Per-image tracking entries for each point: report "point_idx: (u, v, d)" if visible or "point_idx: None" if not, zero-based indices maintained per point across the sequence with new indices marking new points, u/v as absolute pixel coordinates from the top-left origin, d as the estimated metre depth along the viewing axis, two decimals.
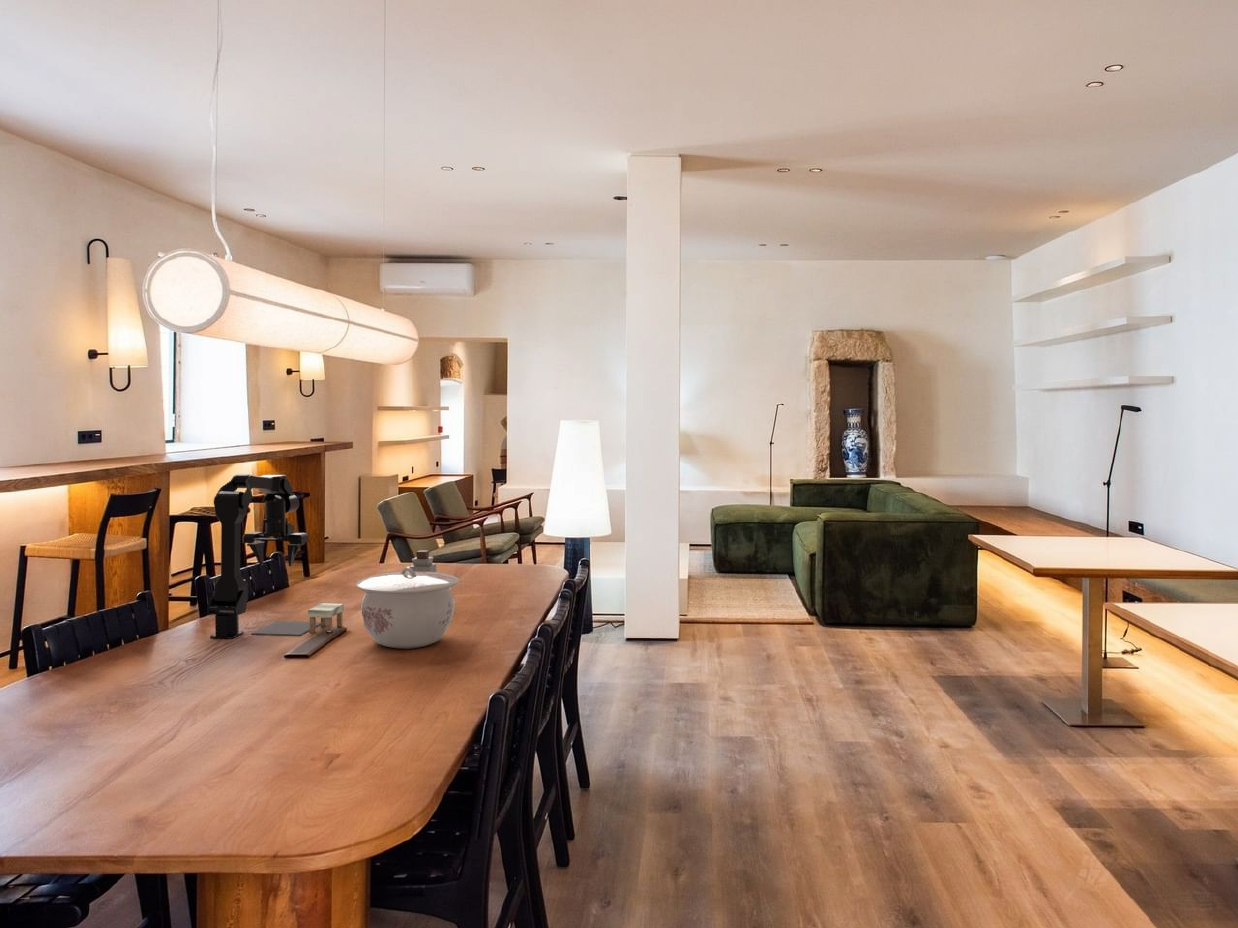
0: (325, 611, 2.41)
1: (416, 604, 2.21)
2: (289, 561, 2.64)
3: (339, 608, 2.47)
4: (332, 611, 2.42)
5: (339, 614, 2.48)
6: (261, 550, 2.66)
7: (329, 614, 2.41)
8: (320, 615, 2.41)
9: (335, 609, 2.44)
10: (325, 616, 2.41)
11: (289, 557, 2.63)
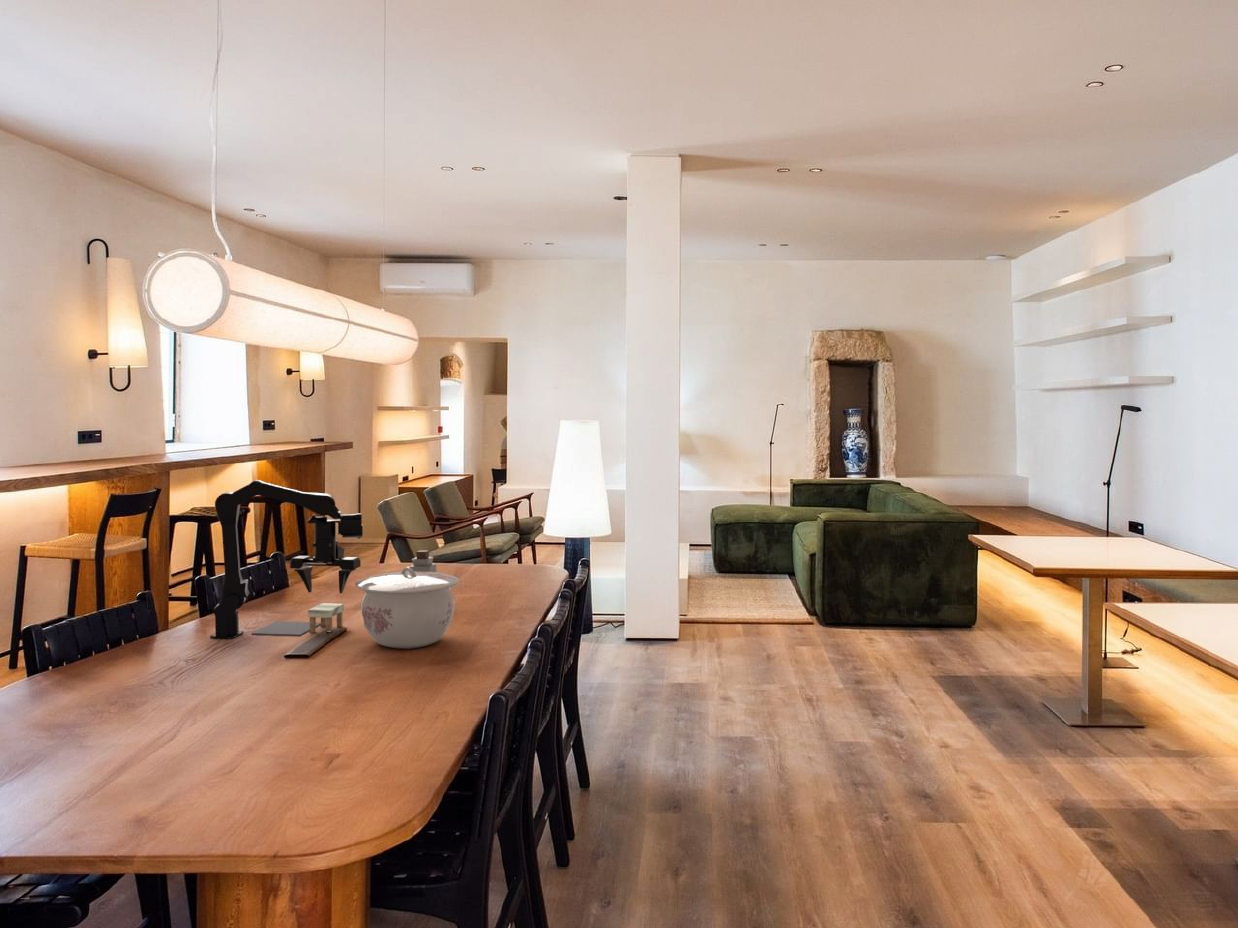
0: (325, 611, 2.41)
1: (416, 604, 2.21)
2: (340, 588, 2.44)
3: (339, 608, 2.47)
4: (332, 611, 2.42)
5: (339, 614, 2.48)
6: (309, 576, 2.46)
7: (329, 614, 2.41)
8: (320, 615, 2.41)
9: (335, 609, 2.44)
10: (325, 616, 2.41)
11: (340, 584, 2.43)
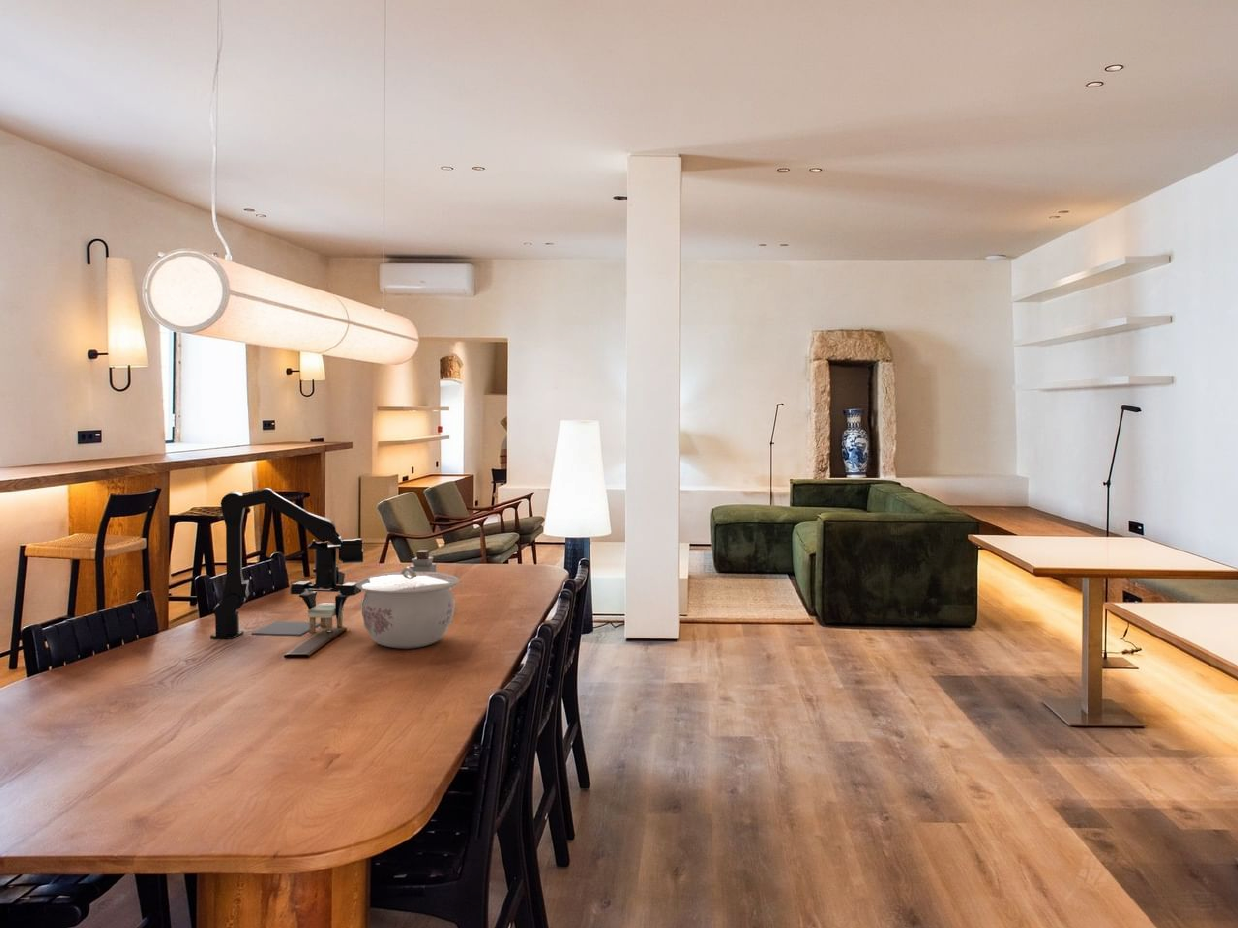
0: (325, 611, 2.41)
1: (416, 604, 2.21)
2: (336, 613, 2.44)
3: None
4: (332, 611, 2.42)
5: None
6: (314, 601, 2.46)
7: (329, 614, 2.41)
8: (320, 615, 2.41)
9: (335, 609, 2.44)
10: (325, 616, 2.41)
11: (337, 609, 2.44)
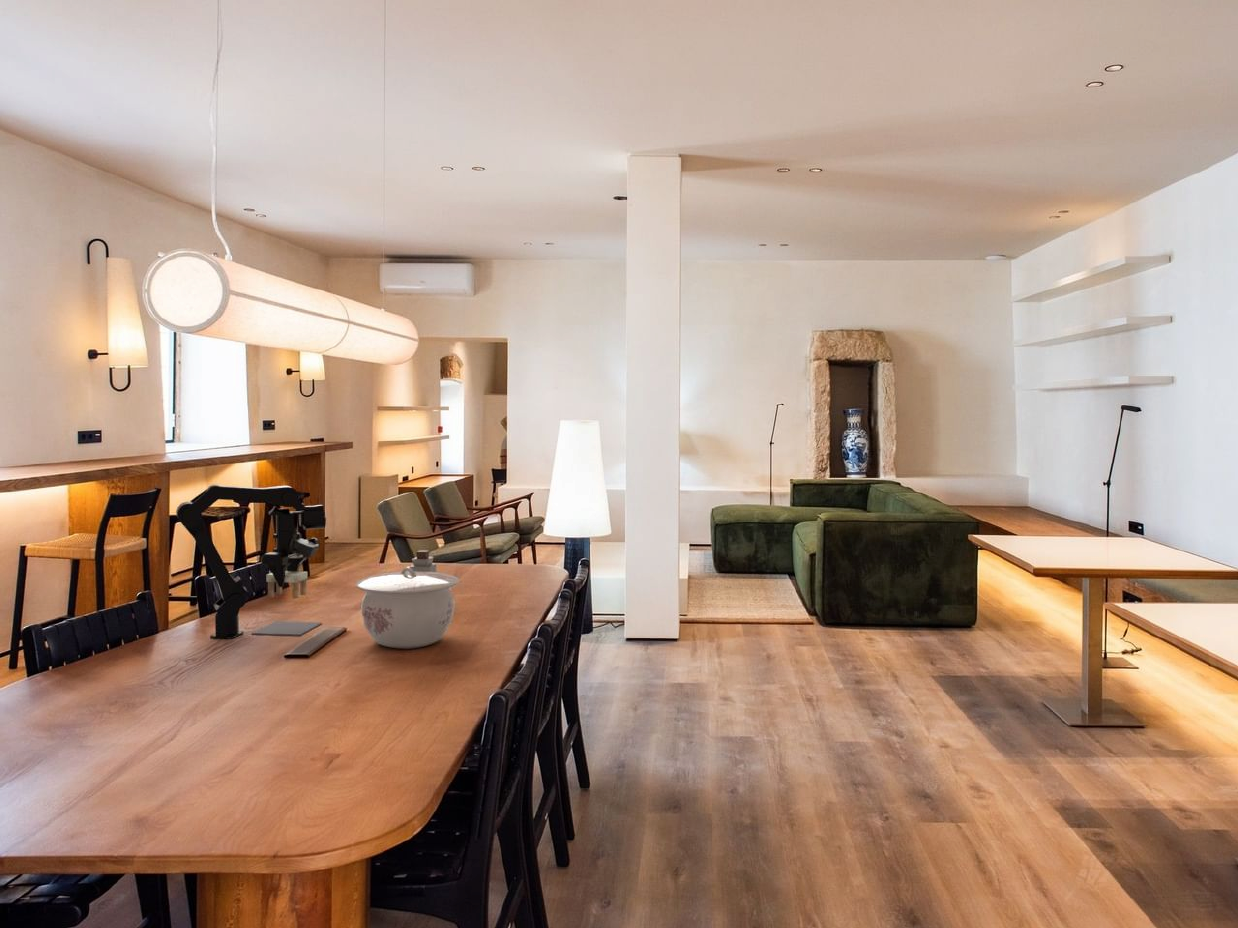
0: None
1: (416, 604, 2.21)
2: None
3: (287, 578, 2.41)
4: (270, 576, 2.42)
5: None
6: (294, 566, 2.48)
7: None
8: None
9: None
10: None
11: None
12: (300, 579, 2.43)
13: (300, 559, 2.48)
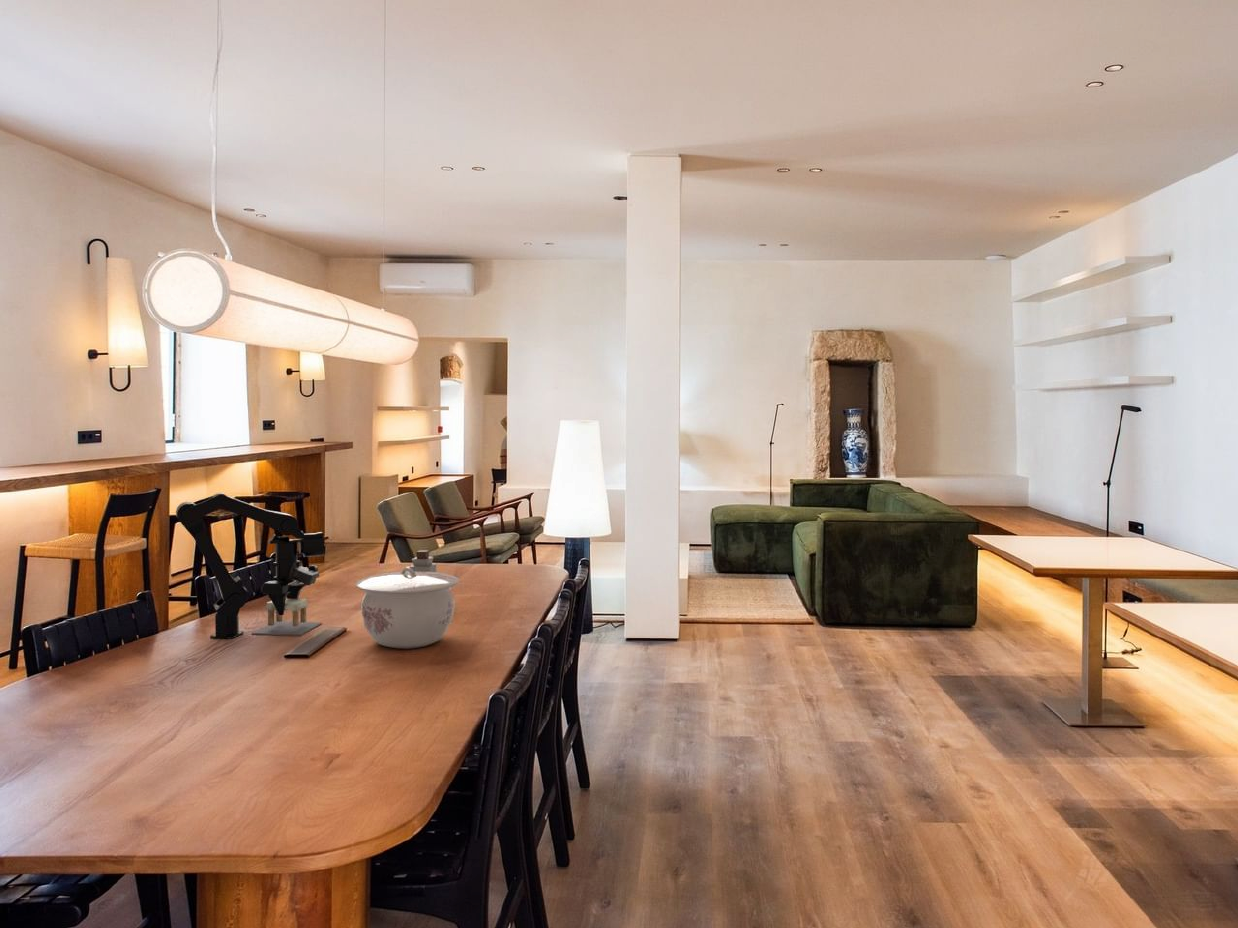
0: None
1: (416, 604, 2.21)
2: None
3: (287, 606, 2.42)
4: (270, 604, 2.42)
5: None
6: (294, 593, 2.49)
7: None
8: None
9: None
10: None
11: None
12: (300, 607, 2.44)
13: (300, 586, 2.49)
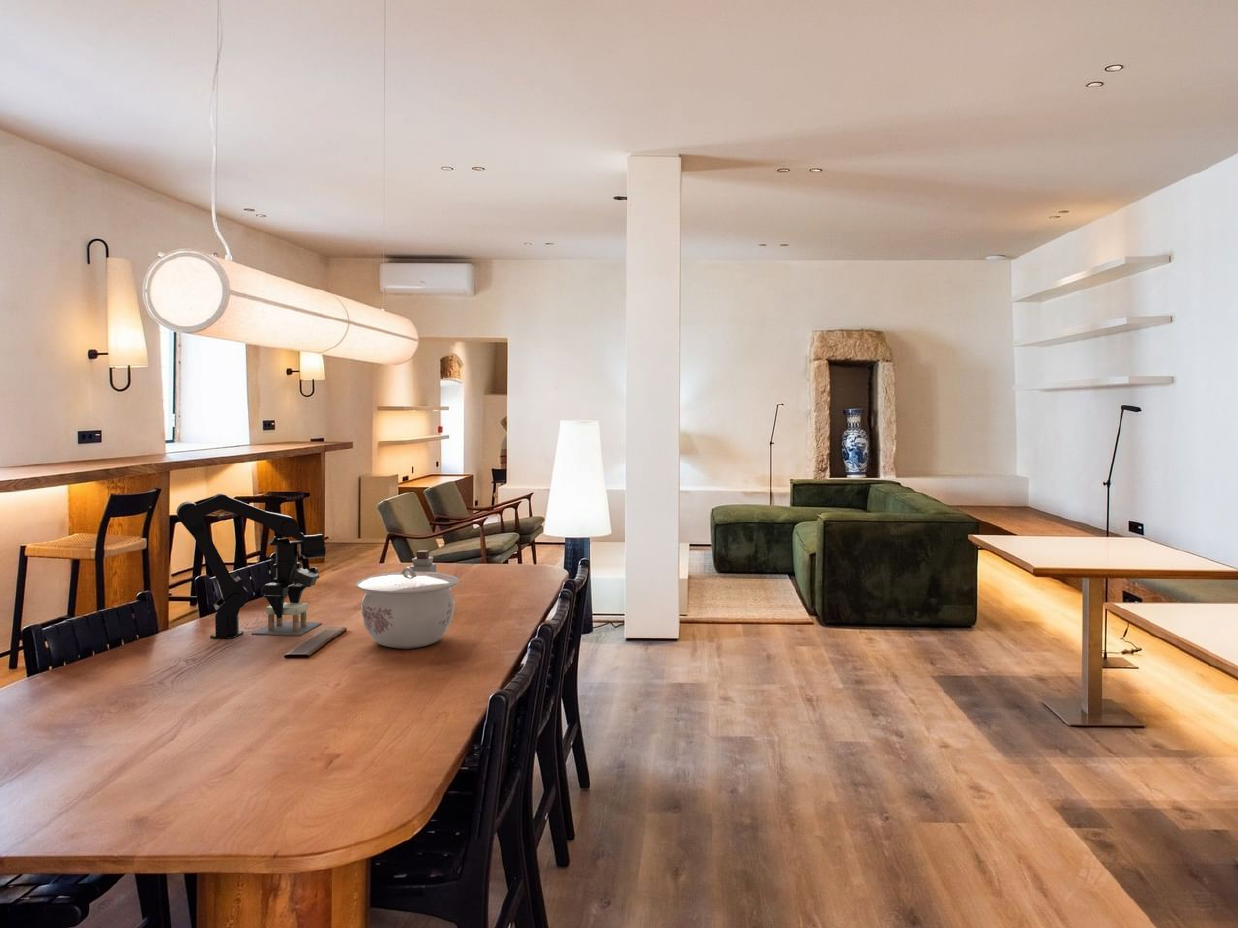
0: None
1: (416, 604, 2.21)
2: None
3: (287, 610, 2.42)
4: (270, 609, 2.42)
5: None
6: (296, 594, 2.50)
7: None
8: None
9: None
10: None
11: None
12: (300, 611, 2.44)
13: (302, 587, 2.50)
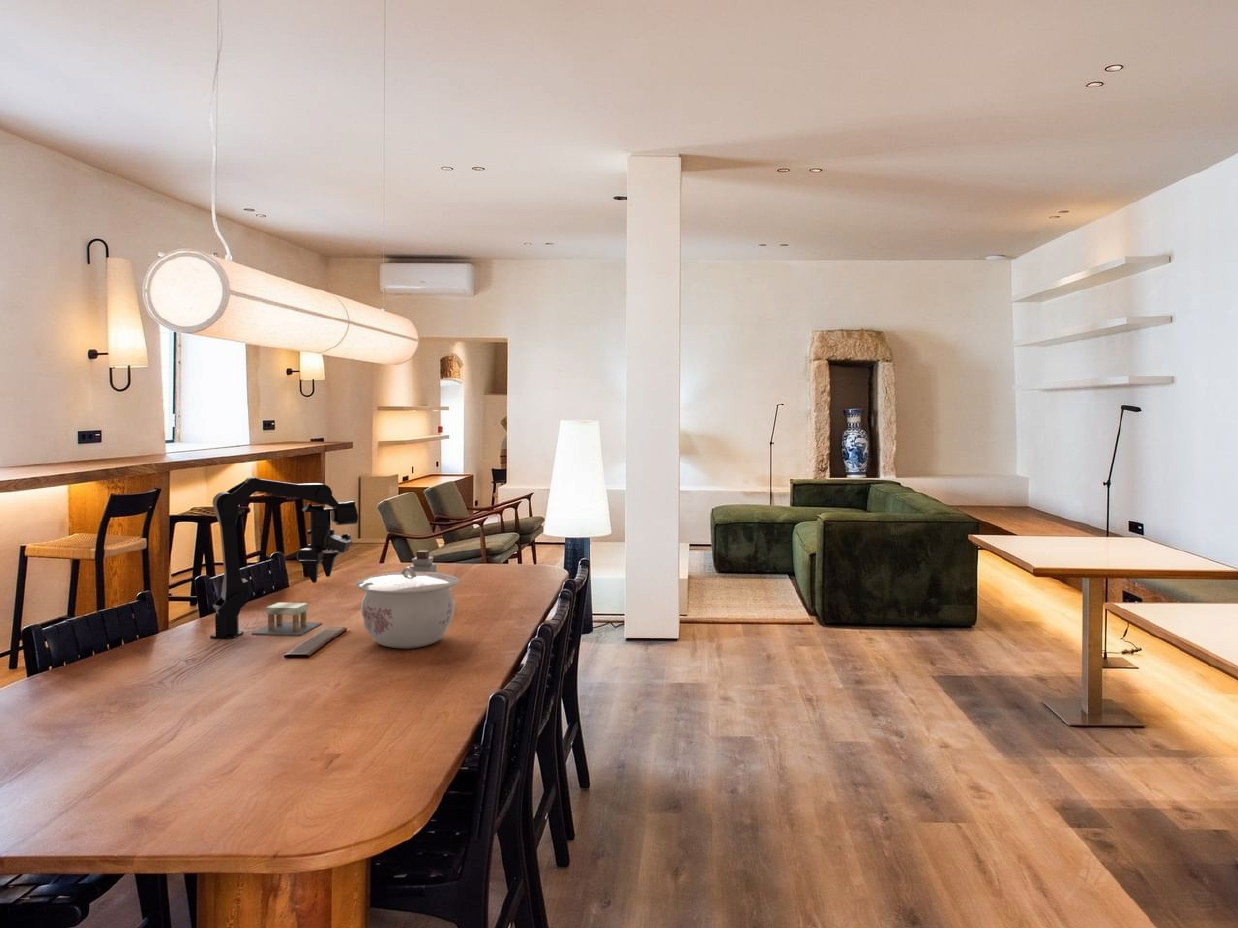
0: None
1: (416, 604, 2.21)
2: None
3: (287, 610, 2.42)
4: (270, 609, 2.42)
5: None
6: (329, 561, 2.56)
7: None
8: None
9: (277, 609, 2.42)
10: None
11: None
12: (300, 611, 2.44)
13: (335, 554, 2.56)
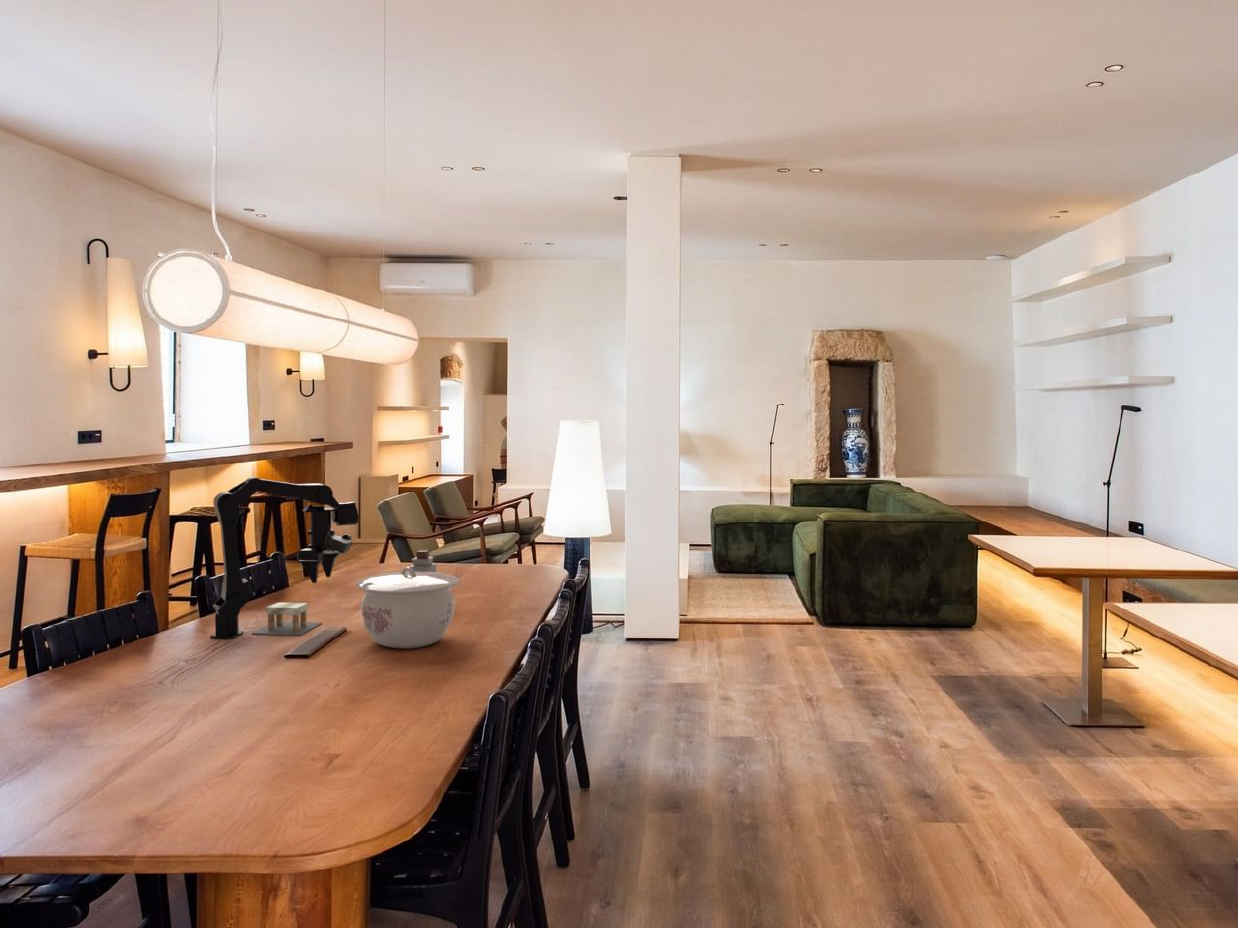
0: None
1: (416, 604, 2.21)
2: None
3: (287, 610, 2.42)
4: (270, 609, 2.42)
5: None
6: (329, 561, 2.56)
7: None
8: None
9: (277, 609, 2.42)
10: None
11: None
12: (300, 611, 2.44)
13: (335, 554, 2.56)
